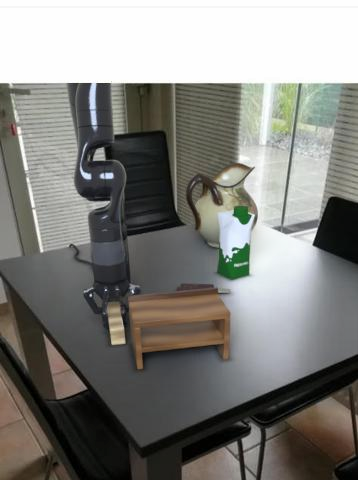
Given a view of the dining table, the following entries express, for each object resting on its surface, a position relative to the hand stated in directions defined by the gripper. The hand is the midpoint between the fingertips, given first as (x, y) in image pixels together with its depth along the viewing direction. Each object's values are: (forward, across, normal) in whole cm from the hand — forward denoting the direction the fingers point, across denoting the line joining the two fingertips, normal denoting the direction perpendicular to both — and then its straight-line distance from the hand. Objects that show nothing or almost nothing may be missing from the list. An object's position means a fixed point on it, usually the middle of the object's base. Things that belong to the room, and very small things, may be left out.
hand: (115, 327), depth 117 cm
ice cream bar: (+1, -26, -17) cm, 31 cm away
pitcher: (+1, -43, -58) cm, 72 cm away
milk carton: (+1, -38, -29) cm, 48 cm away
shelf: (+1, -13, +14) cm, 19 cm away
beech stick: (+1, 0, 0) cm, 1 cm away
